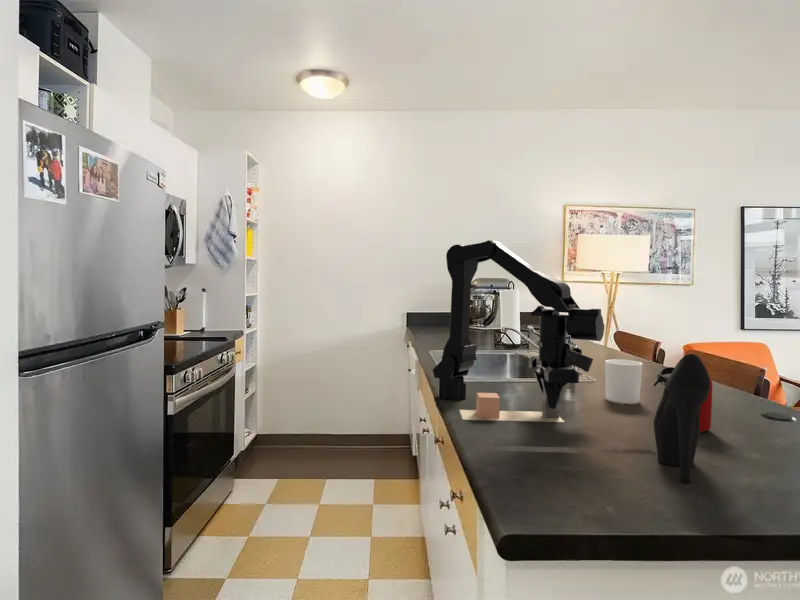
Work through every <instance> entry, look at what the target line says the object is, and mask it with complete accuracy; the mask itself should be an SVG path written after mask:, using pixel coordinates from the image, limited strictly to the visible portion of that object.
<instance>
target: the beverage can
mask: <svg viewBox="0 0 800 600" xmlns="http://www.w3.org/2000/svg"><path fill="white" fill-rule="evenodd" d="M712 408H713V381H712V379H711V378H710V390H709V393H708V396H707V399H706V400H705V402H704V403H703V404H702V405H701V412H700V428H699V430H700V433H704V432H706V431H708V430H710V429H711V427H712Z"/></svg>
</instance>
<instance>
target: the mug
mask: <svg viewBox="0 0 800 600" xmlns="http://www.w3.org/2000/svg"><path fill="white" fill-rule="evenodd" d="M642 373H643V363H642V362H640V361H636V360H630V359H615V358H613V359H606V360H605V361H604V374H605V375H604V376H605V377H604V378H605V381H604V382H605V400H606V401H607V402H609V403H612V402H613V403H612V404H616V403H618V404H617V405H624V404H629V405H628V406H632V404H633V406H635V405H638V404H639V403H640V400H641V399H640V398H641V389H642V388H641V386H642V385H641V384H642ZM630 404H631V405H630ZM634 404H635V405H634Z"/></svg>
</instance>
